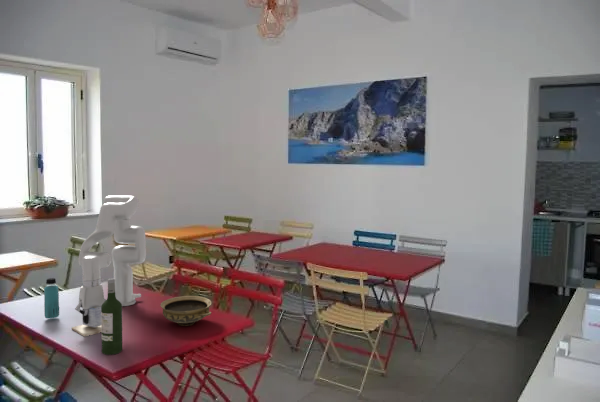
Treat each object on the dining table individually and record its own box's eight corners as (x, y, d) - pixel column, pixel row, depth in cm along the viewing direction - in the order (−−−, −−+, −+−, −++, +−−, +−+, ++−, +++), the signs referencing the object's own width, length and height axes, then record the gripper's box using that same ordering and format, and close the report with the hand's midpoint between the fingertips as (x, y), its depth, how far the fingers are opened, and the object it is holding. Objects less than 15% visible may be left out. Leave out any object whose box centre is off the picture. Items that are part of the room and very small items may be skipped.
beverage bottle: (53, 322, 230) (52, 280, 228) (41, 320, 231) (40, 279, 229) (62, 317, 236) (61, 277, 234) (50, 316, 237) (49, 276, 236)
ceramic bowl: (144, 324, 229) (144, 303, 229) (181, 311, 250) (181, 292, 249) (191, 337, 214) (191, 315, 213) (226, 322, 235) (226, 302, 234)
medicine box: (102, 325, 221) (102, 306, 220) (94, 327, 217) (94, 309, 216) (90, 322, 225) (90, 303, 224) (82, 324, 221) (82, 306, 220)
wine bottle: (97, 353, 194) (96, 280, 192) (111, 346, 202) (110, 275, 199) (112, 356, 192) (112, 282, 189) (126, 349, 199) (126, 277, 196)
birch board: (99, 322, 230) (99, 320, 230) (112, 329, 222) (112, 327, 221) (71, 329, 220) (71, 327, 220) (84, 336, 212) (84, 334, 212)
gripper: (105, 278, 228) (106, 315, 230) (68, 284, 215) (69, 324, 217) (113, 280, 223) (114, 319, 225) (76, 287, 210) (77, 328, 212)
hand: (92, 321), depth 221 cm, fingers closed on medicine box, 5 cm apart
